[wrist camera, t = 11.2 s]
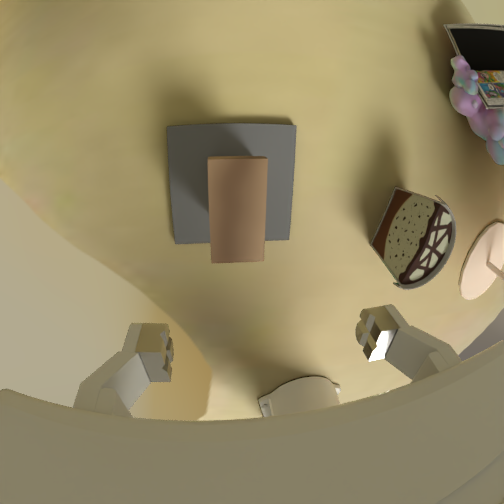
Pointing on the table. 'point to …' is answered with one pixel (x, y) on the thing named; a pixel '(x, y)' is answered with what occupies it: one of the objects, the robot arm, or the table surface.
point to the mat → (228, 144)
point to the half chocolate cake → (414, 237)
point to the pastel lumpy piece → (480, 81)
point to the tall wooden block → (237, 207)
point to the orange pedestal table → (483, 262)
